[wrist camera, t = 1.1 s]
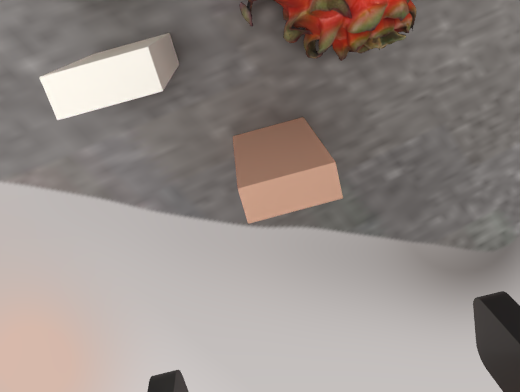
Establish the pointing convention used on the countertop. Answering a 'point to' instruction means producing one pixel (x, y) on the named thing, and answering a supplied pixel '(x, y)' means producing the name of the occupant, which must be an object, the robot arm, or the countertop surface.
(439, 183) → the countertop surface
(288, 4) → the dragon fruit
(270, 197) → the terracotta domino
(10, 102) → the countertop surface
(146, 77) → the ivory domino
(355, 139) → the countertop surface
